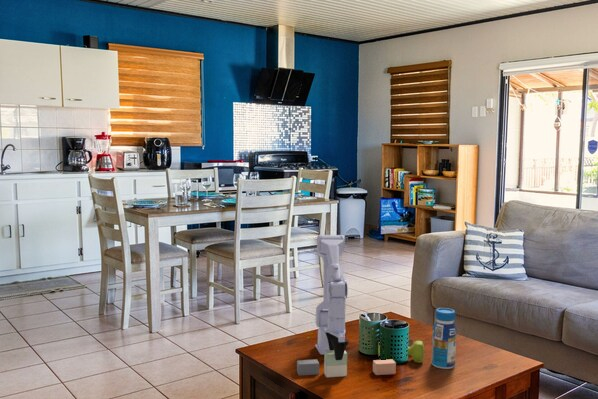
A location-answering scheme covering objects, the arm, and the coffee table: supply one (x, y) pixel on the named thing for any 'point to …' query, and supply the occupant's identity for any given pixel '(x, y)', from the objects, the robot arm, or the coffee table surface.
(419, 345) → the dumbbell
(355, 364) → the coffee table surface
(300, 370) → the brick charcoal
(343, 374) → the brick cream
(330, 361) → the brick sage
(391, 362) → the brick terracotta
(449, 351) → the beverage bottle
